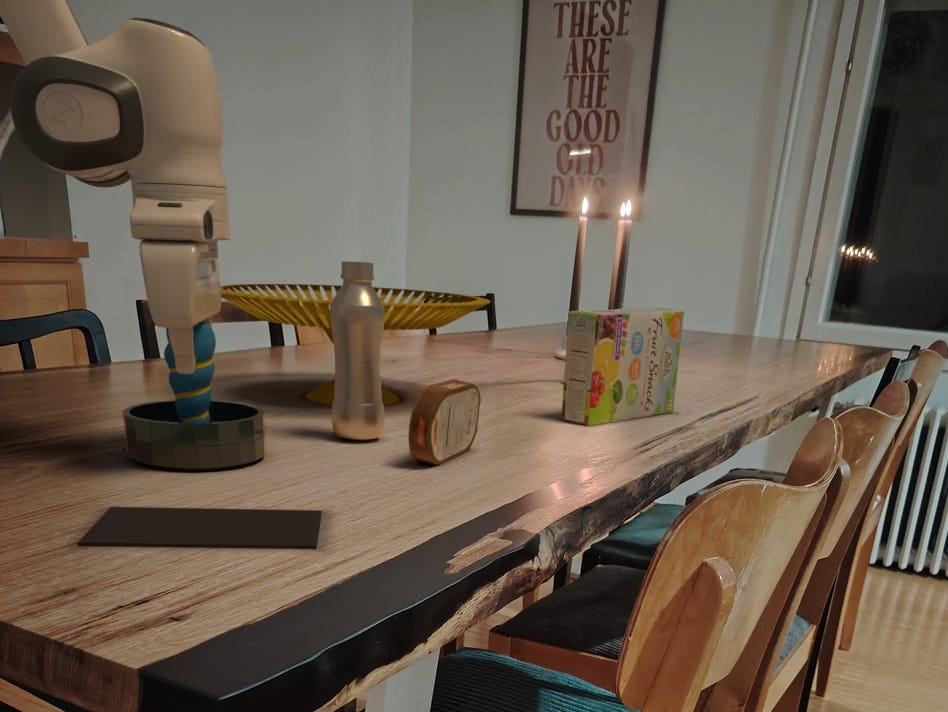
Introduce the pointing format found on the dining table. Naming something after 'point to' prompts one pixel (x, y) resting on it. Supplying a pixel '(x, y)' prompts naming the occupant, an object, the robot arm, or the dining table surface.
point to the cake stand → (319, 316)
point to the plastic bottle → (357, 354)
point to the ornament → (194, 377)
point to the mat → (205, 528)
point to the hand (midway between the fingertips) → (194, 366)
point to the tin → (444, 421)
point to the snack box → (620, 364)
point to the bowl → (195, 436)
